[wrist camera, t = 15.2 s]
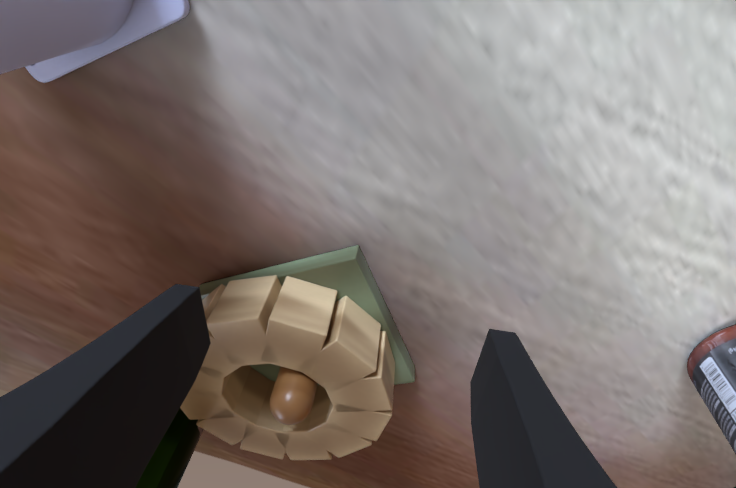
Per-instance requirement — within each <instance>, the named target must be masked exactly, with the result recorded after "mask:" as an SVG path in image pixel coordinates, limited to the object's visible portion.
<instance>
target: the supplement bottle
mask: <svg viewBox="0 0 736 488" xmlns="http://www.w3.org/2000/svg"><path fill="white" fill-rule="evenodd" d="M687 370H688V374H689V376H690V379H691V380H692V382H693V384H694V385H695V387H696V389H697V391H698V393H699V394H700V396H701V397H702V399H703V401H704V403H705V404H706V406H707V407H708V409H709V411H710V412H711V414H712V416H713V417H714V419H715V420H716V422H717V424H718V426H719V427H720V429H721V430H722V432H723V434H724V435H725V437H726V439H727V440H728V442H729V444H730V445H731V447H732V449H733V450H734V452H735V454H736V325H734V326H730V327H727V328H724V329H722V330H720V331H718V332H715V333H714V334H712V335H710V336H709V337H708V338H706V339H704V340H703V341H702V342H701V343H699V345H697V346H696V348H694V350H693V351H692V352H691V354H690V356H689V358H688V363H687Z"/></svg>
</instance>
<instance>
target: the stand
mask: <svg viewBox="0 0 736 488" xmlns="http://www.w3.org/2000/svg"><path fill="white" fill-rule="evenodd" d="M272 275H277V277H278V279H279V281H280V284H281V286H282V285H283V283H284V280H285V278H286V277H287V276H289V277H293V278H296V279H300V280H303V281H306V282H310V283H313V284H317V285H320V286H324V287H327V288H330V289H334V290H337V296H336V300H335V302H337V301H338V300H340V299H341V298H343V297H344V296H348V297H349V298H350V299H351V300H352V301H354V302H355V303H356V304H357V305H358V306H360V307H361V308H362V309H363V310H364V311H366V312H367V313H368V314H369V315H370V316H372V317H373V318H374V319H375V320H376V321H378V322H379V323H380V324H381V329H380V331H386V334H387V337H388V340H389V344H390V347H391V350H392V354H393V357H394V360H395V375H394V385H397V384H404V383H411V382H414V381H415V366H414V364H413V362H412V360H411V357H410V355H409V353H408V351H407V349H406V347H405V345H404V342H403V340H402V338H401V336H400V334H399V332H398V329H397V327H396V325H395V323H394V321H393V319H392V316H391V314H390V312H389V310H388V308H387V306H386V303H385V301H384V299H383V297H382V295H381V293H380V290H379V288H378V286H377V284H376V282H375V280H374V278H373V275H372V273H371V271H370V269H369V267H368V265H367V262H366V260H365V258H364V256H363V254H362V252H361V249H360V247H359V245H356V246H352V247H348V248H344V249H340V250H336V251H332V252H328V253H324V254H320V255H316V256H312V257H308V258H304V259H300V260H296V261H292V262H288V263H284V264H280V265H276V266H272V267H268V268H264V269H260V270H256V271H252V272H248V273H244V274H240V275H236V276H232V277H228V278H224V279H220V280H216V281H212V282H208V283H204V284H201V285H200V286H199V288H200V293H201V298H202V300H203V299H204V298H205V297H206V296H208V295H209V294H210V293H211V292H212V291H213V290H215V289H216V288H217V287H218V286H219V285H221V284H223V285H224V286H227V284H228V283H229V281H232V280H240V279H248V278H256V277H264V276H272ZM250 366H251V367H252V368H253V369H255V370H256V371H258V372H259V373H260V374H262V375H263V376H265V377H266V378H268V379H269V380H272V381H275V385H274V388H273V391H272V394H271V397H270V410H271V413H272V415H273V417H274V418H275V419H276V420H277V421H278V422H280V423H282V424H285V425H295V424H298V423H300V422H302V421H303V420H305V419H306V418H307V416H308V415H309V414H310V412H311V410H312V406H313V402H314V398H315V393H316V389H317V385H320V384H318V383H317V382H315V381H314V380H313V379H311V378H310V377H308V376H307V375H305V374H304V373H303V372H300V371H296V370H292V369H289V368H285V367H281V366H278V365H274V364H259V365H250Z"/></svg>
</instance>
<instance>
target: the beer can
mask: <svg viewBox="0 0 736 488" xmlns="http://www.w3.org/2000/svg"><path fill="white" fill-rule="evenodd" d="M197 421H198V419H197V420H190V419H189V418H188V417H187V416H186V415H185V413H184V412H183V411H182V409H181V408H180V409H179V410H178V412H177V414H176V416H175V417H174V419H173V421H172V423H171V424H170V426H169V428H168V430H167V431H166V433H165V435H164V436H163V438H162V440H161V442H160V443H159V445H158V447H157V449H156V450H155V452H154V454H153V456H152V457H151V459H150V461H149V463H148V464H147V466H146V468H145V470H144V472H143V474H142V476H141V478H140V480H139V481H138V483H137V485H136V487H135V488H177V487H178V485H179V483H180V481H181V478H182V476H183V474H184V472H185V469H186V467H187V465H188V463H189V461H190V458H191V456H192V454H193V452H194V450H195V447H196V445H197V443H198V441H199V438H200V436H201V434H202V432H203V428H201V427H199V426H197V425H196V423H197Z"/></svg>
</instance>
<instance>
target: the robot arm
mask: <svg viewBox="0 0 736 488" xmlns="http://www.w3.org/2000/svg"><path fill="white" fill-rule="evenodd" d="M189 11H190V4H189V2H188V0H0V74H2V73H6V72H9V71H12V70H16V69H19V68H22V67H25V68H26V69H27V70H28V72H29V73H30V74H31V75H32V76H33V77H34V78H35V79H36V80H38V81H39V82H43V83H46V82H50V81H53V80H55V79H57V78H59V77H61V76H63V75H65V74H67V73H70V72H72V71H74V70H76V69H78V68H80V67H82V66H84V65H86V64H89V63H91V62H93V61H95V60H97V59H99V58H101V57H103V56H105V55H107V54H110V53H112V52H114V51H116V50H118V49H120V48H122V47H124V46H126V45H129V44H131V43H133V42H135V41H137V40H139V39H141V38H143V37H145V36H148V35H150V34H152V33H154V32H156V31H158V30H160V29H162V28H164V27H166V26H169V25H171V24H173V23H175V22H177V21H179V20H181V19H183V18H185V17H186V16H187V15H188V13H189ZM210 344H211V342H210V337H209V332H208V327H207V322H206V317H205V313H204V308H203V303H202V298H201V293H200V288H199V287H193V286H187V285H180V284H175V285H174V286H172V287H171V288H169V289H168V290H166V291H165V292H163V293H162V294H160V295H159V296H158V297H156V298H155V299H153V300H152V301H151V302H149V303H148V304H146V305H145V306H143V307H142V308H141V309H139V310H138V311H136V312H135V313H134V314H132V315H131V316H129V317H128V318H126V319H125V320H123V321H122V322H121V323H119V324H118V325H116V326H115V327H113V328H112V329H110V330H109V331H107V332H106V333H105V334H103V335H102V336H100V337H99V338H97V339H96V340H94V341H93V342H91V343H90V344H88V345H86V346H85V347H83V348H82V349H80V350H79V351H77V352H75V353H74V354H72V355H71V356H69V357H68V358H66V359H64V360H63V361H61V362H60V363H58V364H56V365H55V366H53V367H52V368H50V369H49V370H47V371H45V372H44V373H42V374H40V375H39V376H37V377H35V378H34V379H32V380H30V381H28V382H27V383H25V384H23V385H21V386H20V387H18V388H16V389H14V390H13V391H11V392H9V393H7V394H5V395H3V396H2V397H0V488H135V487H136V485H137V483H138V481H139V480H140V478H141V476H142V474H143V472H144V470H145V468H146V466H147V464H148V463H149V461H150V459H151V457H152V456H153V454H154V452H155V450H156V449H157V447H158V445H159V443H160V442H161V440H162V438H163V436H164V435H165V433H166V431H167V430H168V428H169V426H170V424H171V423H172V421H173V419H174V417H175V416H176V414H177V412H178V410H179V409H180V407H181V405H182V403H183V402H184V400H185V398H186V396H187V394H188V393H189V391H190V389H191V387H192V386H193V384H194V382H195V380H196V378H197V375H198V373H199V371H200V368H201V366H202V364H203V361H204V359H205V356H206V354H207V351H208V349H209V346H210ZM471 425H472V433H473V441H474V448H475V456H476V464H477V471H478V478H479V486H480V488H617V487H616V486H615V484H614V483H613V482H612V480H611V479H610V478H609V476H608V475H607V474H606V472H605V471H604V470H603V468H602V467H601V466H600V464H599V463H598V462H597V460H596V459H595V457H594V456H593V455H592V453H591V452H590V450H589V449H588V448H587V446H586V445H585V443H584V442H583V441H582V439H581V438H580V436H579V435H578V433H577V432H576V430H575V429H574V428H573V426H572V425H571V423H570V422H569V420H568V418H567V417H566V415H565V414H564V412H563V411H562V409H561V408H560V406H559V405H558V403H557V402H556V400H555V398H554V397H553V395H552V394H551V392H550V390H549V389H548V387H547V386H546V384H545V382H544V381H543V379H542V377H541V376H540V374H539V372H538V371H537V369H536V367H535V366H534V364H533V362H532V360H531V359H530V357H529V355H528V353H527V352H526V350H525V348H524V346H523V345H522V343H521V341H520V339H519V338H518V336H517V335H516V334H515V333H513V332H506V331H499V330H493V329H489V331H488V334H487V337H486V340H485V343H484V345H483V348H482V351H481V354H480V357H479V360H478V363H477V366H476V368H475V371H474V374H473V377H472V380H471Z"/></svg>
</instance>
